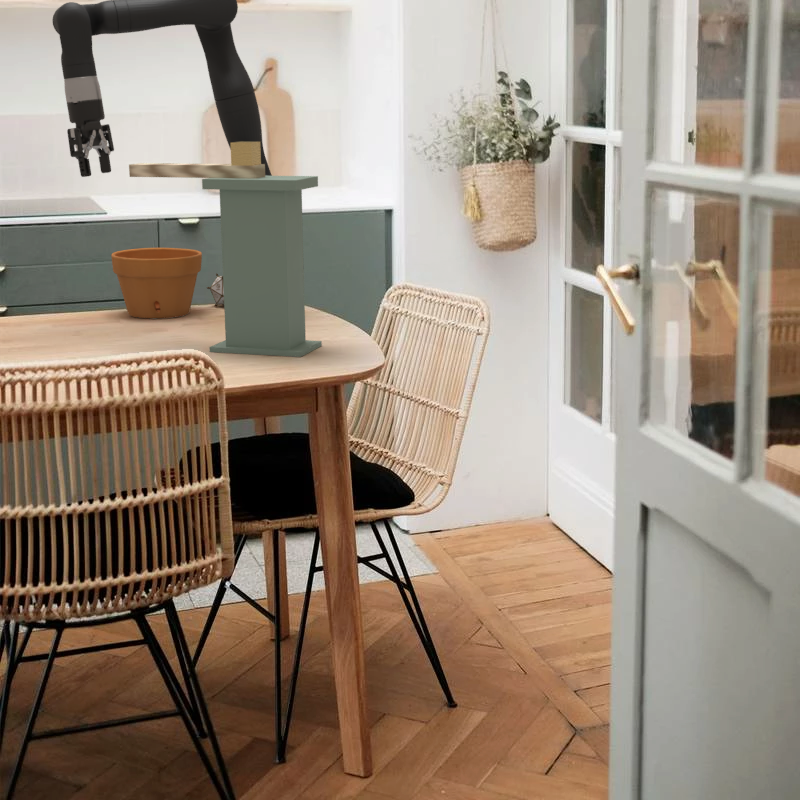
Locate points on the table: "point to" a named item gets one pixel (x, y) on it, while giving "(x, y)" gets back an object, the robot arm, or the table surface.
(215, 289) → the game die
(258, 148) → the cube
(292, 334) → the shelf stand
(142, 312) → the flower pot
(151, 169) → the wooden plank
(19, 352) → the table surface
